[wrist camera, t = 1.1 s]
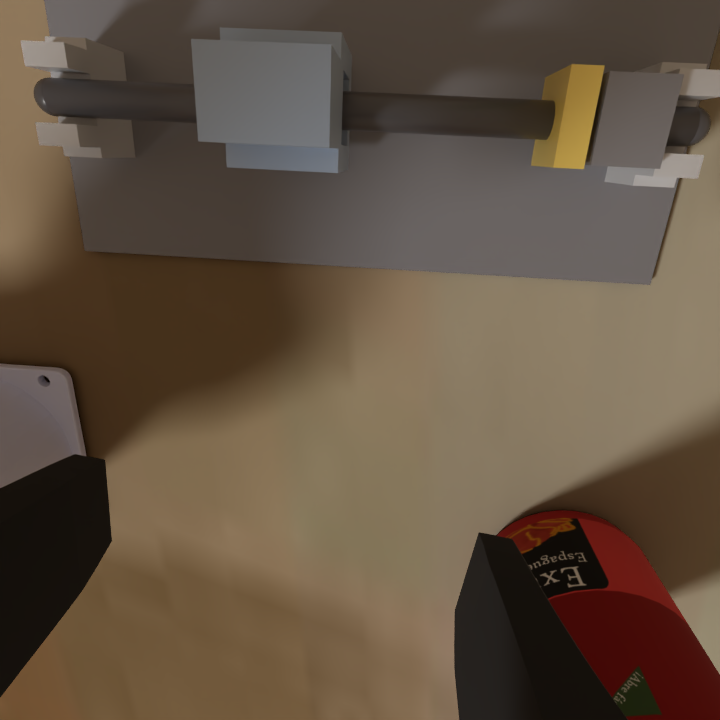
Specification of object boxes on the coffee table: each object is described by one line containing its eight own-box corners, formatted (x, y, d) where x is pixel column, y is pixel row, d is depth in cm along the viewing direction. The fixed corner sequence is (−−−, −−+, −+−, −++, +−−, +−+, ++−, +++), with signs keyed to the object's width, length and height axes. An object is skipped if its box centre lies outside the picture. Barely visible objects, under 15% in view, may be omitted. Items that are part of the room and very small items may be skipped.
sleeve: (257, 164, 16) (199, 169, 12) (253, 52, 15) (188, 4, 10) (348, 169, 16) (328, 176, 12) (352, 56, 15) (331, 10, 10)
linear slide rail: (89, 249, 19) (12, 273, 16) (37, -77, 16) (-81, -153, 12) (646, 282, 18) (712, 316, 15) (736, -54, 15) (859, -130, 11)
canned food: (547, 475, 22) (679, 753, 12) (681, 561, 23) (904, 879, 13) (440, 581, 25) (472, 882, 14) (565, 653, 26) (675, 976, 16)
